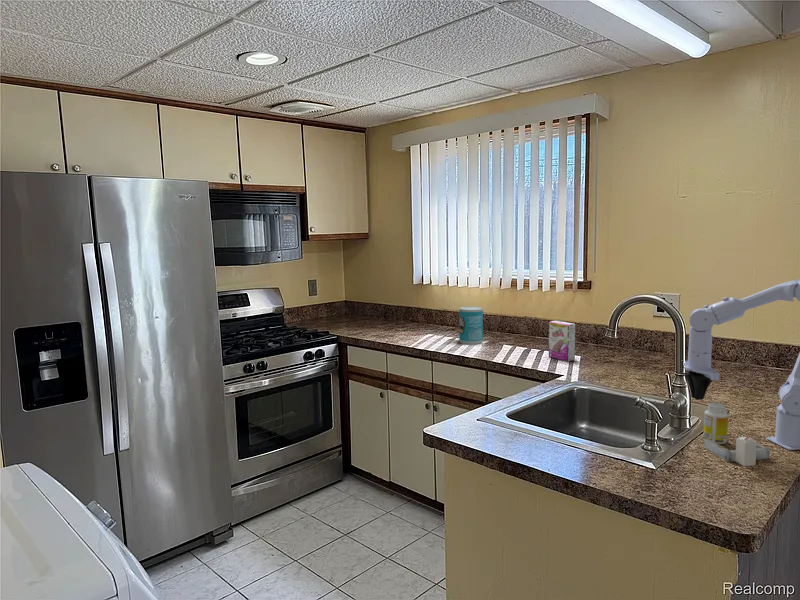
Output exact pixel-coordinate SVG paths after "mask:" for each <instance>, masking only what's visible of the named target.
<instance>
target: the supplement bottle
mask: <svg viewBox="0 0 800 600" xmlns="http://www.w3.org/2000/svg"><path fill="white" fill-rule="evenodd" d="M703 413H704V414H703V415H704V416H703V417H704V418H703V434H702V435H703V436H702V437H703V440H704V439H706V438H708V439H710V440H712V441H714V442H715V443H717V444H719V445H725V444H726V443H727V442H728V427H729V426H728V425H729V424H728V423H729V413H728V412H727V411H726V405H725V404H723V403H721V402H709V403H707V409H705V411H704V412H703Z"/></svg>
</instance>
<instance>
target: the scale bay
mask: <svg viewBox="0 0 800 600" xmlns="http://www.w3.org/2000/svg"><path fill="white" fill-rule="evenodd" d="M740 437H745V436H744V435H741V436H739V438H740ZM703 440H704V441H703V443H704V445H703V448H705V450H707V451H709V452H711V453H713V454H715V455H716V456H717V457H719V458H721V459H723V460H725V461H726V462H728V463H729V462H736V461H735V455H736V449H731V450H729V449H727V448H725V447H724V446H722V445H721V444H717V443H715V442H714V441H712V440H710V439H708V438H706V439H704V438H703ZM769 459H770V449H769V448H767V447H766V446H764V445H762V444H759V443H758V442H757V447H756V460H769Z"/></svg>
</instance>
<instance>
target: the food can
mask: <svg viewBox="0 0 800 600" xmlns="http://www.w3.org/2000/svg"><path fill="white" fill-rule="evenodd" d="M458 311H459V312H458V313H459V316H458V319H459V321H458V322H459V323H458V324H459V326H458V327H459V331H458V333H459V343H460V344H462V345H469V346H472V345H473V346H475V345H481V344H483V341H484V320H483V319H484V317H483V316H484V310H483V307H481V306H473V305H472V306H461V307H459V310H458Z"/></svg>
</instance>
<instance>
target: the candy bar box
mask: <svg viewBox="0 0 800 600" xmlns="http://www.w3.org/2000/svg"><path fill="white" fill-rule="evenodd" d="M548 358H551V359H555V360H560V361H564V362H568V363H569V362H572V361H575V360H576V324H575V323H570V322H565V321H559V320H552V321H549V322H548Z"/></svg>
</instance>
